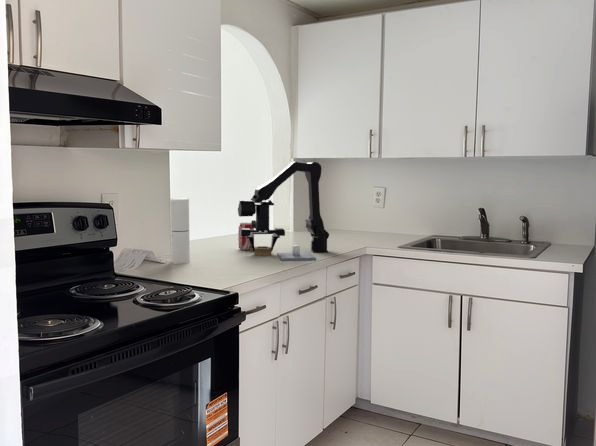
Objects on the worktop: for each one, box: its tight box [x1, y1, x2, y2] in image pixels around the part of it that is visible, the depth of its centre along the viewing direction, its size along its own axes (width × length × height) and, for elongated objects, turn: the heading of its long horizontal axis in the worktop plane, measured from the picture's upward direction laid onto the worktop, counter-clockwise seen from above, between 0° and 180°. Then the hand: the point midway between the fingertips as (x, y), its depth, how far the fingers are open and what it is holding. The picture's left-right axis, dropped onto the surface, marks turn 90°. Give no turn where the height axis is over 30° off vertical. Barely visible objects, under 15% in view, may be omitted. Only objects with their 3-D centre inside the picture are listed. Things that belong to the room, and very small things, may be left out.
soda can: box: [237, 222, 255, 251], centre depth 252 cm, size 7×7×12 cm
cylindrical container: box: [169, 197, 191, 265], centre depth 217 cm, size 7×7×25 cm
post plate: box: [276, 244, 317, 262], centre depth 231 cm, size 14×14×5 cm
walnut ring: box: [253, 245, 272, 257], centre depth 239 cm, size 7×7×3 cm
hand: (262, 252), depth 239 cm, fingers closed on walnut ring, 7 cm apart
